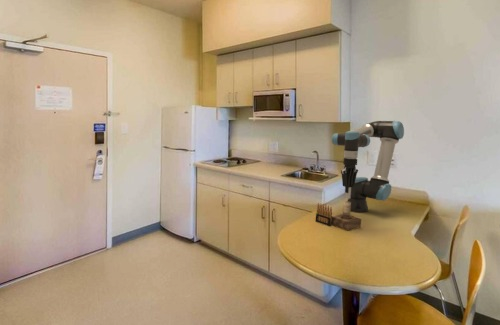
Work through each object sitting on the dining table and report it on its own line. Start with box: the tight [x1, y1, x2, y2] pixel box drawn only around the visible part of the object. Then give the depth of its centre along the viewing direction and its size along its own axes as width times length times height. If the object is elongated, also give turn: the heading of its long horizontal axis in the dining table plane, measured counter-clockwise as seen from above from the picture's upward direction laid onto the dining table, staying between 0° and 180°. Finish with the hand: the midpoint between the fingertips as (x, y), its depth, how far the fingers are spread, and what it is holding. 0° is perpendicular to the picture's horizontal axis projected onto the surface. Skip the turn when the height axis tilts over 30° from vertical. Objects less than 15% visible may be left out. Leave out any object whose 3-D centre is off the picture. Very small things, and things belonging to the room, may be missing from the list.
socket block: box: [332, 213, 362, 232], centre depth 169 cm, size 12×12×5 cm
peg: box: [342, 200, 351, 220], centre depth 168 cm, size 4×4×12 cm
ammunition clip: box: [315, 202, 333, 227], centre depth 171 cm, size 11×2×12 cm, turn 41°
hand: (347, 197), depth 167 cm, fingers closed
